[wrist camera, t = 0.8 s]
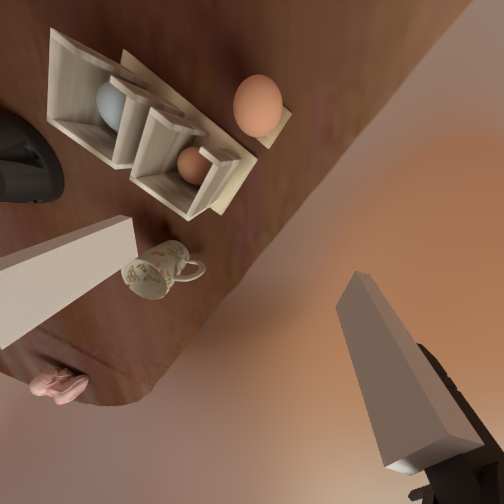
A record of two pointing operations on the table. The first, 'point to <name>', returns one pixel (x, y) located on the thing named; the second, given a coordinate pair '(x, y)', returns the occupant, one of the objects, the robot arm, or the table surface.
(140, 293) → the mug
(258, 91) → the terracotta ball
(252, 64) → the table surface
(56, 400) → the figurine
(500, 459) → the robot arm
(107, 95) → the grey ball upper
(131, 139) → the rack
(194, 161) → the terracotta ball in tube
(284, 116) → the stand
